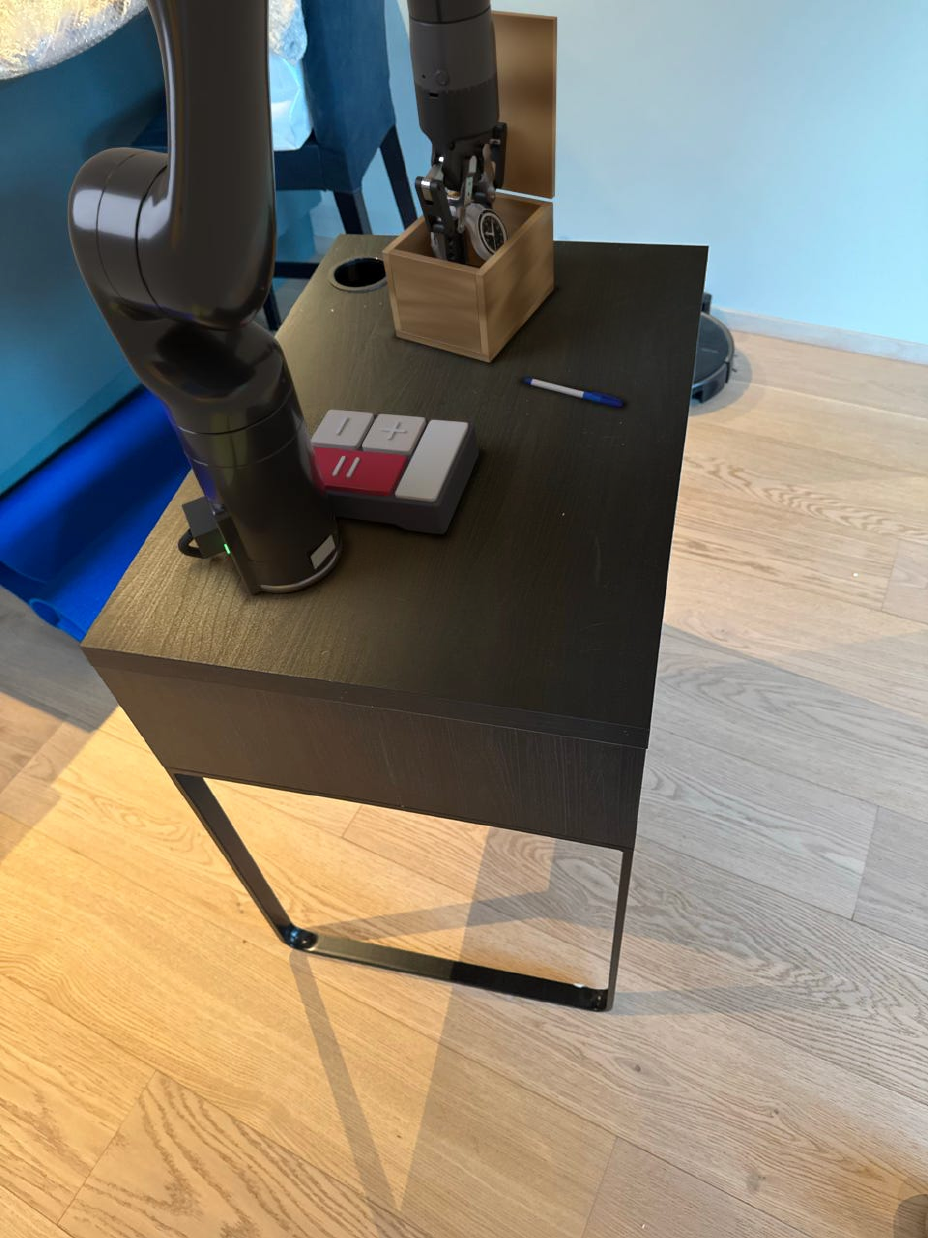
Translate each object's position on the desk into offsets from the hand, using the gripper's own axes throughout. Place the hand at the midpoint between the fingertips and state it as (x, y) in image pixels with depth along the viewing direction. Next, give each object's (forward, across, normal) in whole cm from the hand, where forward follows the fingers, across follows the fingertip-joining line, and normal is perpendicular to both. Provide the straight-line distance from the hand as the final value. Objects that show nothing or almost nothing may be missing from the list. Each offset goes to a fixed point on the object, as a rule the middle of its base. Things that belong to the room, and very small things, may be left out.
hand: (470, 250), depth 88 cm
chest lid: (-11, -7, 0) cm, 13 cm away
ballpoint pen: (+8, +8, +16) cm, 20 cm away
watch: (+7, 0, 0) cm, 7 cm away
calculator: (+7, +27, +6) cm, 29 cm away
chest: (+7, 0, 0) cm, 7 cm away
